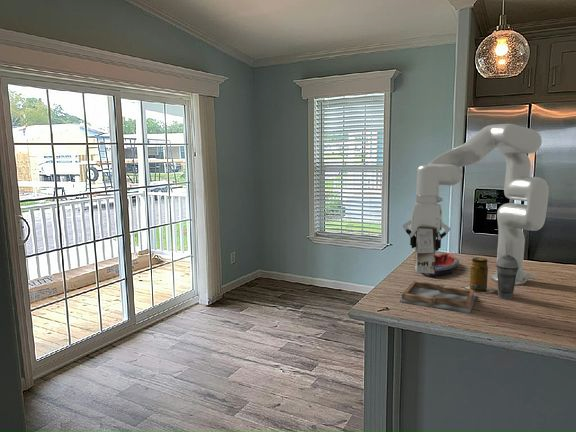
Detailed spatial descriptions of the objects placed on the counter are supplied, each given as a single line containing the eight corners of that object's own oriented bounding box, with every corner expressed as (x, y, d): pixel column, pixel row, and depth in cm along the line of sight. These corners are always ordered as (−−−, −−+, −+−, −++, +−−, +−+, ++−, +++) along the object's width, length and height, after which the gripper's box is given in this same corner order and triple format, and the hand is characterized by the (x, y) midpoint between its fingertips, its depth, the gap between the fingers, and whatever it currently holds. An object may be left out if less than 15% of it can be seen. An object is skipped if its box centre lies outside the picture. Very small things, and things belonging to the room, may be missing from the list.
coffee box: (435, 273, 151) (437, 228, 149) (416, 273, 152) (417, 228, 150) (432, 267, 160) (433, 224, 158) (414, 266, 161) (415, 223, 159)
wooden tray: (476, 296, 158) (476, 288, 157) (469, 313, 141) (469, 305, 141) (412, 286, 169) (413, 280, 169) (399, 301, 153) (399, 294, 152)
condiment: (477, 285, 170) (478, 255, 168) (495, 291, 163) (497, 260, 161) (463, 288, 167) (465, 258, 165) (482, 294, 160) (484, 263, 158)
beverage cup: (507, 302, 151) (511, 246, 148) (489, 295, 158) (492, 242, 155) (520, 298, 155) (525, 244, 152) (502, 292, 161) (506, 240, 158)
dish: (407, 274, 186) (408, 263, 186) (434, 260, 210) (434, 250, 209) (443, 281, 177) (444, 269, 176) (467, 265, 200) (467, 254, 200)
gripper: (454, 200, 151) (452, 249, 154) (405, 198, 160) (403, 244, 163) (451, 202, 145) (448, 253, 148) (399, 200, 153) (398, 248, 156)
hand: (425, 248), depth 155 cm, fingers closed on coffee box, 7 cm apart
